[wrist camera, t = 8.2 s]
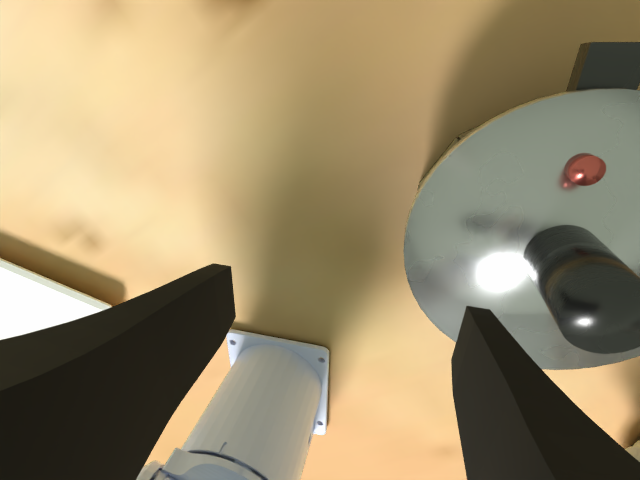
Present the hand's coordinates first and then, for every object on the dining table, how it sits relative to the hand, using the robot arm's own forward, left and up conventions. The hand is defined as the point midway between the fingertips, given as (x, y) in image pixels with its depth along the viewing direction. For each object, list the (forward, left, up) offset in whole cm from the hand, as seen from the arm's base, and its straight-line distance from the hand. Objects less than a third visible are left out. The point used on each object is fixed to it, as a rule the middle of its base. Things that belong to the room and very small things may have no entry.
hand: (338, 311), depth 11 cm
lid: (0, -8, -6) cm, 10 cm away
